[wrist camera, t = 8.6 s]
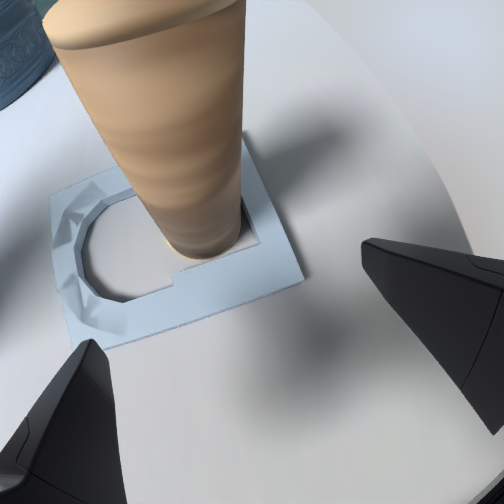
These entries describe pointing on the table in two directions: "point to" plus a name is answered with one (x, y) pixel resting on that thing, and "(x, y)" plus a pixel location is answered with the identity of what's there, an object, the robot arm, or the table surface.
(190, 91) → the tan peg
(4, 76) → the canister
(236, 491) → the table surface
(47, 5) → the flower pot
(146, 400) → the table surface
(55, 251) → the keyhole plate
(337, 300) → the table surface
